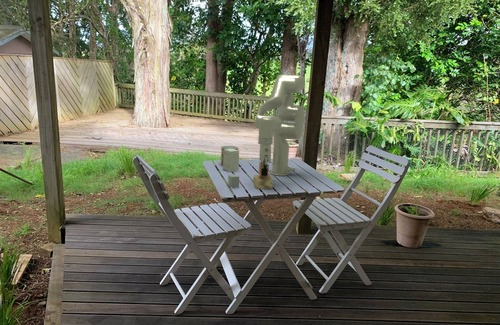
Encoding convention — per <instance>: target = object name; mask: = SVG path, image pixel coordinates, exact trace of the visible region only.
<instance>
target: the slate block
mask: <svg viewBox="0 0 500 325" xmlns="http://www.w3.org/2000/svg"><path fill="white" fill-rule="evenodd" d="M227 186H228V187H229V188H230V187H238V188H240V176H239V175H238V174H228V179H227Z"/></svg>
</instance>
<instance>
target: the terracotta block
mask: <svg viewBox="0 0 500 325" xmlns="http://www.w3.org/2000/svg"><path fill="white" fill-rule="evenodd" d="M261 170H262V163H261V162H259V164H258V175H260V176H261ZM269 171H270V165H269V164H268V172H267V176H268V175H269Z"/></svg>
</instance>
